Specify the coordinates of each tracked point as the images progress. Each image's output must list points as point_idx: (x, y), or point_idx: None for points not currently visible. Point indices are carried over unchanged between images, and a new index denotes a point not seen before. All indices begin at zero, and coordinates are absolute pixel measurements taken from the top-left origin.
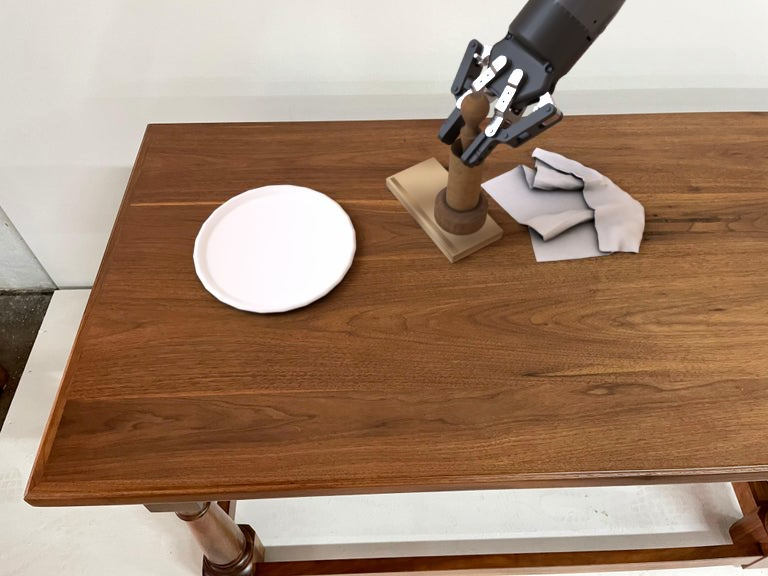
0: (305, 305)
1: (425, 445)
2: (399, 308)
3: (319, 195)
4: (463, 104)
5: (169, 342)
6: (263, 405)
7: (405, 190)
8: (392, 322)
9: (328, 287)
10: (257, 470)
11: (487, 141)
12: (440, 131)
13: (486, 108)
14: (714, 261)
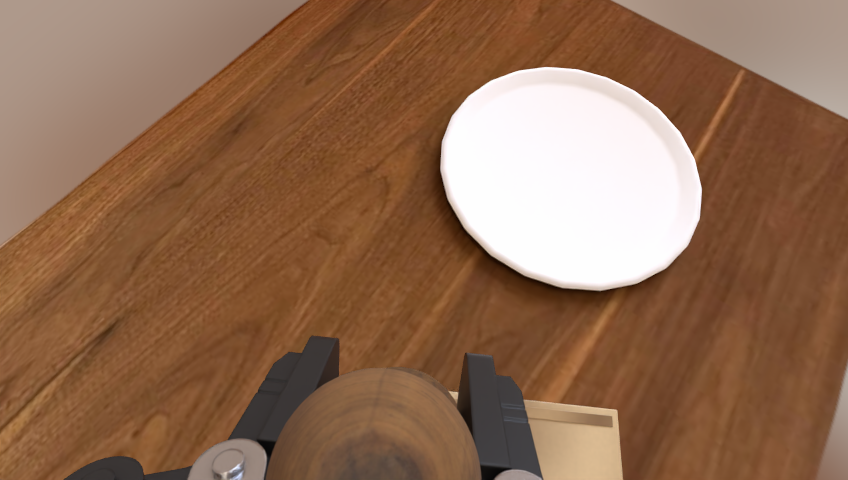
0: (442, 141)
1: (174, 150)
2: (352, 248)
3: (636, 272)
4: (409, 381)
5: (499, 22)
6: (359, 53)
7: (563, 422)
8: (340, 225)
9: (446, 176)
10: (302, 20)
11: (243, 437)
12: (503, 378)
13: None
14: None
